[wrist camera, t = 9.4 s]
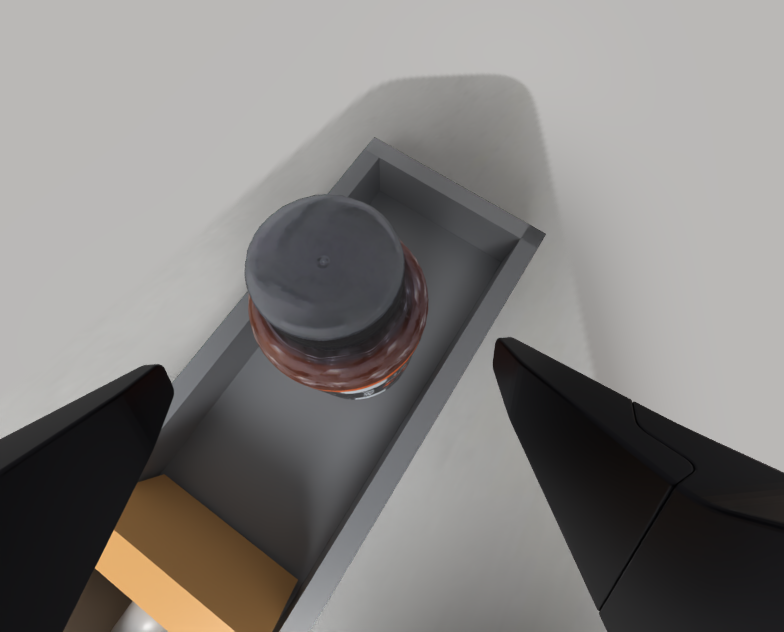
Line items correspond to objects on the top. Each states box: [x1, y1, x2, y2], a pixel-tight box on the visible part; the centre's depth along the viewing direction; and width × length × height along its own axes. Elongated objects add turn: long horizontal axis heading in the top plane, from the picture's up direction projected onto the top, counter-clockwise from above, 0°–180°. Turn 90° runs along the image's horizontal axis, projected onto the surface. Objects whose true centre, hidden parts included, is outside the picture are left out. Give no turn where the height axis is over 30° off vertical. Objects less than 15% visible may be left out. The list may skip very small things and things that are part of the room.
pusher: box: [95, 474, 298, 632], centre depth 14 cm, size 4×8×5 cm, turn 57°
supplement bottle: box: [245, 194, 429, 400], centre depth 14 cm, size 6×6×11 cm
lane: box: [64, 137, 546, 632], centre depth 16 cm, size 26×11×6 cm, turn 147°
